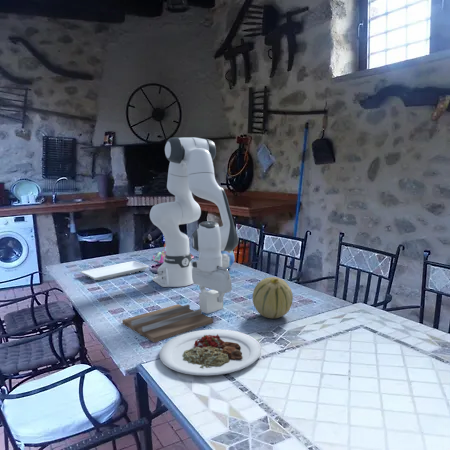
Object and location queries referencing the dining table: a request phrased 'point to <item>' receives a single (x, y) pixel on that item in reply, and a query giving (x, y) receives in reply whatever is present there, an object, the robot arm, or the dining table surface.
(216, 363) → the plated food
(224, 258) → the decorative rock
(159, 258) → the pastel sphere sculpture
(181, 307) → the rail panel
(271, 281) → the cantaloupe
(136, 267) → the tray
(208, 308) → the rail module
